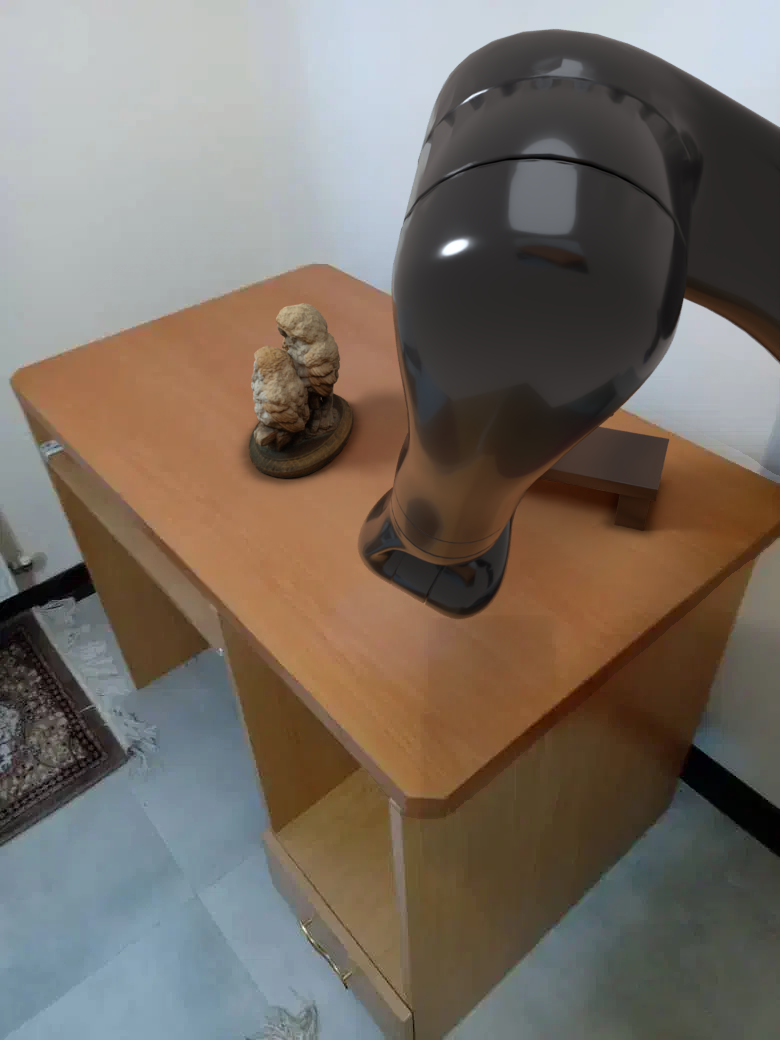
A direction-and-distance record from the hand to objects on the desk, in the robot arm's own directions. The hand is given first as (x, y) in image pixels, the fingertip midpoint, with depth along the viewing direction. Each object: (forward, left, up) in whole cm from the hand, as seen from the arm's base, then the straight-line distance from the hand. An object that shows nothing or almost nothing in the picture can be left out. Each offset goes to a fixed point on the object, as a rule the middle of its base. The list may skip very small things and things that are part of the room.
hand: (571, 339), depth 77 cm
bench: (0, +2, -17) cm, 17 cm away
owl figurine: (+31, +1, -17) cm, 36 cm away
